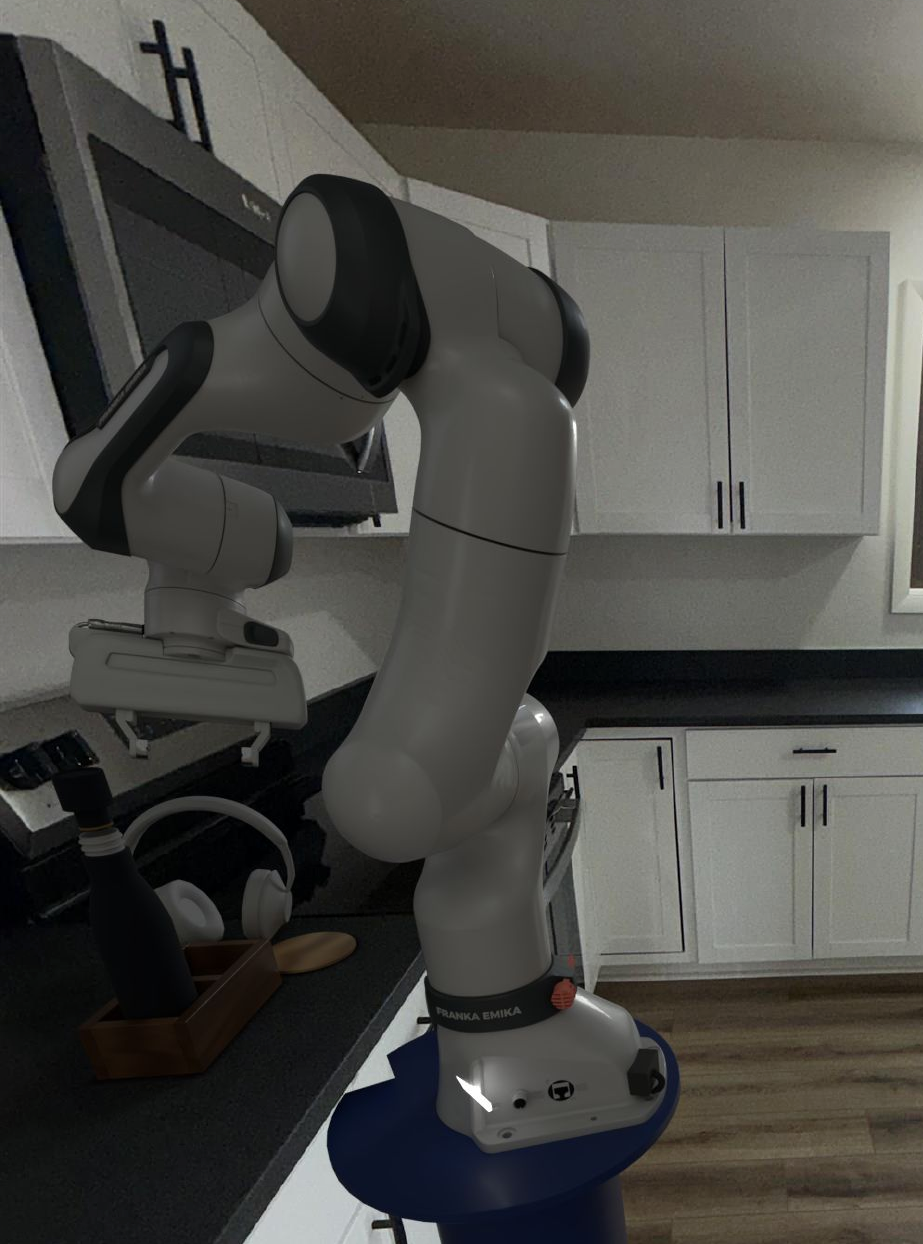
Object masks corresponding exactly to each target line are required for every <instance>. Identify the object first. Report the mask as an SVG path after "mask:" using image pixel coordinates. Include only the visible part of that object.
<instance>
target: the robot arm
mask: <svg viewBox="0 0 923 1244" xmlns="http://www.w3.org/2000/svg"><path fill="white" fill-rule="evenodd" d="M276 223H277V224H276V229H275V235H274V236H275V237H274V245H273V247H274V248H273V255H274V256H273V257H274V259H273V260H272V263H271V265H270V266H269V268H268V270H267V272H266V274H265V276H264V278H263V279H262V282H261V284H260V285H259V287H258V289H257V291H256V292H255V293H254V295H253V296H252V297H251V298H250V299H249V300H248V301H247V302H245V303H244V304H243V305H241V306H239V307H238V308H236V309H234V310H232V311H230V312H228V313H226V314H223V315H221V316H218V317H215V318H211V319H208V320H190V321H189V320H188V321H183V322H180V323H179V324H178V325H176V326H175V327H174V328H173V329H172V330H171V331H169V332H168V333H167V334H166V335H165V336H164V337H163V338H162V339H161V341H160V342H158V344H157V345H155V347H154V348H153V349H152V350H151V351H150V352H149V353H148V355H147V356H146V357H145V358H144V360H143V361H142V362H141V363H140V365H138V366H137V368H136V369H135V371H134V372H133V373H132V374H131V375H130V377H129V378H128V379H127V380H126V382H125V383H124V384H123V386H122V387H121V388H120V389H119V390H118V391H117V393H116V394H115V396H114V397H113V398H112V399H111V400H110V402H109V403H108V404H107V405H106V407H104V409H103V410H102V411H101V413H100V414H99V415H98V416H97V417H96V418H95V420H94V421H93V422H92V423H91V424H90V425H88V426H87V427H86V428H84V429H83V430H82V431H80V432H79V433H77V434H76V435H74V436H73V437H71V439H70V440H69V441H67V443H66V444H65V446H64V447H63V449H62V450H61V452H60V454H59V456H58V457H57V459H56V462H55V465H54V469H53V472H52V480H51V487H52V488H51V491H52V502H53V508H54V510H55V513H56V514H57V516H58V517H59V518H60V520H61V521H62V522H63V523H64V524H65V525H66V526H67V528H68V529H69V530H70V531H71V532H72V533H74V535H76V537H77V538H79V539H80V541H82V542H83V543H84V544H85V545H86V546H87V547H89V549H91V550H92V551H93V550H94V551H99V552H104V553H108V554H109V553H110V554H113V555H114V554H115V555H120V556H124V557H129V558H132V557H134V558H135V557H136V558H140V559H144V560H145V561H146V563H147V566H148V580H147V583H146V584H145V587H144V592H143V595H144V596H143V624H141V623H132V622H125V621H124V622H120V621H108V620H105V619H100V618H88V619H87V621H81V622H78V623H76V624H75V625H73V626H72V627H71V628H70V630H69V633H68V650H69V653H70V655H71V656H72V658H73V662H72V667H71V672H70V679H69V697H70V698H71V700H72V701H73V702H74V703H75V704H76V705H77V706H78V707H80V708H81V709H82V710H83V711H85V712H87V713H95V714H96V713H97V714H107V715H115V722H116V723H117V724H118V726H119V727H120V729H121V730H122V732H123V733H124V735H125V736H126V737H127V739H128V740H129V757H130V758H131V760H145V761H150V760H151V753H150V751H151V742H150V741H149V740H148V739H140V738H138V737H137V735H136V734H135V732H134V731H133V729H132V727H136V726H137V723H138V717H142V718H143V717H144V718H154V719H155V718H156V719H164V720H165V719H166V720H176V721H177V720H178V721H179V720H180V721H190V722H202V723H211V724H224V725H236V726H247V727H254V730H253V731H254V734H255V737H256V739H255V740H254V742H253V743H252V745H251V746H250V747H245V746H242V747H241V765H242V767H252V768H259V761H260V760H259V758H260V757H259V753H260V752H261V751H262V749H263V748H264V747H265V745H266V744H267V743H268V741H269V740H270V739H271V728H273V729H283V730H284V729H285V730H293V731H299V730H301V729H303V727H304V726H306V725H307V723H308V707H307V706H308V704H307V696H306V695H307V694H306V688H305V682H304V679H303V673H302V671H301V668H300V666H299V665H298V663H297V662H296V661H295V659H294V657H295V647H294V642H293V639H292V637H291V635H290V634H289V633H288V632H287V631H285V630H282V629H280V628H278V627H275V626H273V625H271V624H268V623H265V622H262V621H260V620H258V619H255V618H252V617H251V616H248V613H247V612H248V610H247V607H246V603H245V599H244V592H245V591H246V590H247V589H252V590H258V589H260V588H263V587H266V586H269V585H270V584H272V583H275V582H276V581H278V580H280V579H282V578H283V577H285V576H286V575H287V574H288V573H289V572H290V570H291V567H292V563H293V553H294V552H293V551H294V549H293V548H294V531H293V530H294V529H293V525H292V522H291V520H290V517H289V516H288V514H287V512H286V511H285V509H284V507H283V506H282V504H281V503H280V502H279V501H278V500H277V499H276V497H275V496H274V495H273V494H270V493H268V492H266V491H264V490H262V489H261V488H258V487H255V486H252V485H250V484H248V483H246V482H245V483H244V482H242V481H239V480H236V479H233V478H231V477H228V476H225V475H222V474H219V473H217V472H214V471H211V470H208V469H205V468H201V467H198V466H195V465H191V464H188V463H186V462H183V461H181V460H177V459H176V458H175V459H174V458H172V457H171V455H172V454H173V453H175V451H176V450H177V449H178V447H180V446H181V444H182V443H183V442H184V441H185V440H186V439H187V438H188V437H190V436H192V435H194V434H198V433H200V432H201V433H202V432H207V431H231V432H242V433H248V434H256V435H261V436H262V435H264V436H266V437H267V436H268V437H273V438H279V439H283V440H288V441H294V442H298V443H301V444H302V443H303V444H309V445H317V446H318V445H319V446H328V445H329V446H330V445H331V446H332V445H341V444H346V443H349V442H350V443H351V442H353V441H355V440H357V439H359V438H361V437H362V436H364V435H366V434H367V433H369V432H370V431H372V430H373V429H374V428H375V427H376V426H377V425H378V424H379V422H380V421H381V420H382V419H383V418H384V417H385V416H386V414H387V412H388V411H389V410H390V408H391V407H392V406H393V404H394V403H395V401H396V399H398V397H399V395H400V393H402V394H403V396H405V397H406V399H407V400H408V402H409V403H410V405H411V406H412V409H413V411H414V413H415V415H416V417H417V420H418V423H419V428H420V448H419V449H420V450H419V459H418V463H417V464H418V465H417V469H416V470H417V471H416V475H415V482H414V491H413V497H412V506H411V511H410V513H411V514H410V522H409V529H408V537H407V538H408V539H407V544H406V545H407V546H406V554H405V560H404V561H405V562H404V570H403V577H402V585H401V592H400V598H399V599H400V600H399V604H398V608H397V614H396V618H395V621H394V625H393V628H392V632H391V634H390V638H389V641H388V644H387V647H386V649H385V651H384V654H383V657H382V660H381V662H380V665H379V668H378V670H377V672H376V675H375V677H374V680H373V683H372V685H371V688H370V690H369V693H368V695H367V698H366V699H365V702H364V705H363V707H362V710H361V711H360V714H359V716H358V718H357V720H356V722H355V724H354V725H353V727H352V728H351V730H350V731H349V734H348V735H347V736H346V737H345V738H344V740H343V742H341V744H340V746H338V748H337V749H336V750H335V751H334V752H333V754H331V756H330V758H329V759H328V761H327V763H326V764H325V767H324V770H323V773H322V778H321V792H322V793H321V794H322V800H323V805H324V808H325V810H326V813H327V815H328V817H329V819H330V821H331V823H332V825H333V826H334V828H335V829H336V831H337V832H338V833H339V834H340V835H341V836H342V838H344V840H346V841H347V843H349V845H351V846H353V847H354V848H355V849H356V850H358V851H359V852H361V853H363V854H364V855H366V856H368V857H370V858H372V859H375V860H379V861H382V862H387V863H393V864H395V863H396V864H400V863H409V862H412V861H416V860H417V861H418V860H421V859H424V863H423V867H422V871H421V874H420V875H419V879H418V881H417V883H416V886H415V888H414V893H413V901H412V904H413V905H412V909H413V913H414V919H415V924H416V928H417V929H416V930H417V934H418V939H419V943H420V948H421V953H422V957H423V962H424V967H425V971H426V972H425V973H426V975H425V976H424V977H423V986H424V997H425V1005H426V1010H427V1014H428V1017H429V1018H430V1022H431V1026H432V1030H434V1031H435V1032H437V1037H438V1047H439V1087H438V1095H437V1101H436V1111H437V1114H438V1116H439V1118H440V1119H441V1121H442V1122H443V1123H444V1124H445V1125H447V1126H448V1127H449V1128H451V1129H453V1130H455V1131H457V1132H459V1133H462V1134H464V1135H467V1136H469V1137H470V1138H472V1139H473V1141H474V1142H475V1144H476V1145H477V1146H478V1147H479V1149H481V1150H482V1151H483V1152H485V1153H499V1152H504V1151H509V1150H514V1149H519V1148H524V1147H529V1146H534V1145H539V1144H544V1143H549V1142H554V1141H559V1140H564V1139H569V1138H574V1137H579V1136H584V1135H589V1134H594V1133H599V1132H604V1131H609V1130H614V1129H619V1128H624V1127H629V1126H634V1125H638V1124H642V1123H645V1122H646V1121H648V1120H649V1119H650V1118H651V1117H652V1116H653V1115H654V1114H655V1112H656V1111H657V1110H658V1108H659V1106H660V1105H661V1103H662V1101H663V1098H664V1095H665V1091H666V1085H667V1067H666V1062H665V1057H664V1054H663V1052H662V1050H661V1048H660V1047H659V1045H658V1044H657V1043H656V1042H655V1041H653V1040H652V1039H651V1038H647V1037H640V1035H639V1032H638V1029H637V1027H636V1024H635V1022H634V1020H633V1018H634V1017H632V1015H631V1014H630V1012H629V1011H627V1009H626V1008H625V1007H623V1006H621V1005H619V1004H616V1003H614V1002H612V1001H609V1000H608V999H605V998H603V997H600V996H599V995H596V994H594V993H592V992H590V991H589V990H587V989H585V988H582V987H580V986H579V985H578V982H577V981H578V980H577V975H576V969H575V968H576V964H575V958H574V954H572V953H570V955H569V958H568V961H565V960H563V959H562V958H560V957H559V956H557V955H556V954H555V953H554V952H552V951H551V944H550V938H549V937H550V936H549V930H548V928H549V927H548V922H547V921H548V920H547V912H546V904H545V897H544V883H543V876H544V875H543V874H544V873H543V871H544V854H545V853H544V852H545V840H546V829H547V815H548V801H549V790H550V784H551V778H552V775H553V771H554V769H555V766H556V763H557V761H558V757H559V752H560V736H559V731H558V728H557V726H556V725H557V724H556V722H555V721H554V718H553V717H552V715H551V713H550V712H549V710H547V708H546V707H545V706H544V705H543V703H541V702H540V701H539V700H538V699H536V698H535V697H533V696H532V695H530V693H527V690H528V688H529V686H530V684H531V682H532V680H533V678H534V676H535V674H536V672H537V671H538V670H539V668H540V666H541V665H542V663H543V662H544V660H545V658H546V657H547V654H548V651H549V649H550V645H551V639H552V635H553V628H554V623H555V618H556V613H557V608H558V603H559V598H560V593H561V587H562V583H563V576H564V572H565V566H566V561H567V556H568V551H569V546H570V541H571V540H570V539H571V534H572V527H573V520H574V519H573V518H574V513H575V512H574V511H575V501H576V489H577V473H578V472H577V471H578V424H577V419H576V414H575V413H574V410H573V409H574V408H575V407H576V405H577V403H578V402H579V400H580V398H581V397H582V395H583V392H584V390H585V387H586V385H587V380H588V377H589V372H590V367H591V366H590V365H591V339H590V332H589V329H588V324H587V320H586V319H585V316H584V313H583V312H582V310H581V308H580V306H579V304H578V303H577V302H576V301H575V299H574V298H573V297H572V296H571V295H570V293H568V292H567V291H566V290H565V289H564V288H563V287H562V286H561V285H559V283H557V282H556V281H554V280H553V278H551V277H549V276H548V275H547V274H546V273H545V272H543V271H541V270H540V269H538V268H535V267H532V266H526V265H524V264H523V263H522V262H520V261H519V260H517V259H516V258H514V257H513V256H511V255H510V254H508V253H506V252H505V251H503V250H502V249H500V248H498V247H497V246H495V245H493V244H492V243H490V242H489V241H487V240H485V239H483V238H481V237H479V236H477V235H476V234H475V233H474V232H473V231H472V230H471V229H470V228H468V227H467V226H465V225H462V224H461V223H458V222H457V221H454V220H452V219H450V218H448V217H446V216H444V215H442V214H439V213H437V212H435V211H432V210H429V209H427V208H424V207H423V206H419V205H416V204H414V203H411V202H409V201H405V200H403V199H399V198H398V197H397V198H396V197H394V196H391V195H387V194H386V193H385V192H384V191H383V190H382V189H381V188H380V187H378V186H377V185H375V184H373V183H370V182H366V181H364V180H360V179H356V178H353V177H348V176H344V175H337V174H331V173H313V174H310V175H308V176H306V177H305V178H303V179H302V180H301V181H300V182H299V183H298V184H297V185H296V186H295V188H294V189H293V190H292V191H291V192H290V193H289V195H288V196H287V197H286V199H285V201H284V203H283V204H282V207H281V210H280V213H279V215H278V219H277V222H276Z"/></svg>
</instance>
